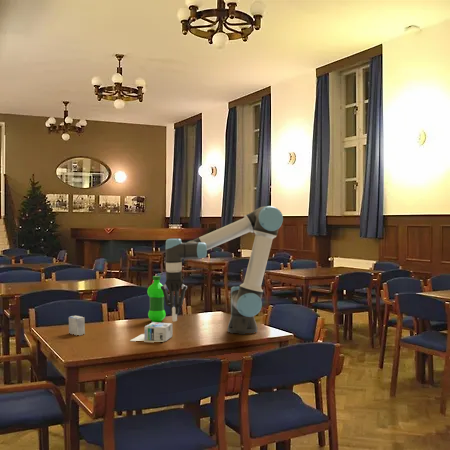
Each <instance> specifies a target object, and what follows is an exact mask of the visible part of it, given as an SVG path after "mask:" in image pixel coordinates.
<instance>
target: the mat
mask: <svg viewBox="0 0 450 450" xmlns="http://www.w3.org/2000/svg"><path fill="white" fill-rule="evenodd" d="M136 341H144V342H143V343H154V342H163V343H164V342H165V341H155V340H144V333H141V334H139V335H138V336H136V337H134V338H132V339H130V340H129V342H136Z"/></svg>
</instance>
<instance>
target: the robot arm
mask: <svg viewBox="0 0 450 450" xmlns="http://www.w3.org/2000/svg"><path fill="white" fill-rule="evenodd" d="M283 221H284V217H283V214H282V211H281V210H280V209H278V208H277V207H275V206H273V205H267V206H260V207H258V208H256V209H255V210H253V211H251V212H249V213H247V214H245V215H244V217H243V218H240V219H238V220H236V221H234V222H231V223H229V224H227V225H225V226H223V227H220V228H217V229H216V230H215V229H214V230H213V231H211V232H209V233H206V234H203V235H202V236H199V237H197V238H194V239H193V240H188V241H187V242H182V239H181V238H168V239H166V241H165V271H166V273H165V282H164V284H162V285H163V286H161V289H162V290H163V294H164V303H165V305H166V307H169V308H170V312H169V314H170V315H171V319H172V320H171V321H172V322H177V321H178V315H179V313H180V309H179V308H180V307H181V306H183V304H184V300H185V295H186V292H187V289H188V288H189V287H188V285H185V284H184V282H183V273H182V269H183V268H182V267H183V263H182V260H184V259H206V257H207V255H208V253H207V252H208V250H211V249H213V248H215V247H218V246H220V245H222V244H225V243H227V242H229V241H232V240H234V239H236V238H239V237H241V236H243V235H247V234H248V233H252V234H253V233H254V235H255V236H254V238H253V239H254V240H253V243H252V248H251V251H250V252H251V253H250V256H249V261H248V264H247V268H246V272H245V276H244V280H243V283H241V284H239V286H232V287H230V319H229V321H228V325H227V332H228V333H229V332H230V334H233V333H239V334H238V335H246V334H245V333H253V334H255V333H254V332H256V333H258V325H257V322H256V319H255V316H256V315H258V314H259V313H260V312H261V310H262V307H263V303H262V298H263V293H264V290H263V288H262V285H263V284H262V283H263V279H264V276H265V273H266V268H267V263H268V259H269V256H270V252H271V248H272V243H273V240H274V239H275V238H277V236H278V233H279V229H280V228H281V226H282V224H283ZM167 289H168V290H167ZM180 289H181V292H180Z"/></svg>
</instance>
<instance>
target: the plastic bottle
mask: <svg viewBox="0 0 450 450" xmlns="http://www.w3.org/2000/svg"><path fill="white" fill-rule="evenodd" d="M161 279H162V278H161V275H153V276H152V280H153V282H152V283H151V285H149V286H148V287H147V291H146V293H147V295H148V297H149V310H148V312H147V316H148V318H149V320H150V321H151V323H152V322H157V323H162V321H163V320H165V318H166V315H167V314H166V313H167V312H166V310H165V298H164V294H163V290H162V289H161V286H163V285H164V284H162V283H161V282H160V281H161Z"/></svg>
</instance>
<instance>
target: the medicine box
mask: <svg viewBox="0 0 450 450" xmlns="http://www.w3.org/2000/svg"><path fill="white" fill-rule="evenodd" d="M85 322H86V321H85V316H84V317H83V316H80V315H71V316H68V334H69V333H70V334H69V335H73V334H74V335H73V336H77V335H79V336H84V335H86V331H85V330H86V329H85V327H86V325H85ZM83 334H84V335H83Z"/></svg>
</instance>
